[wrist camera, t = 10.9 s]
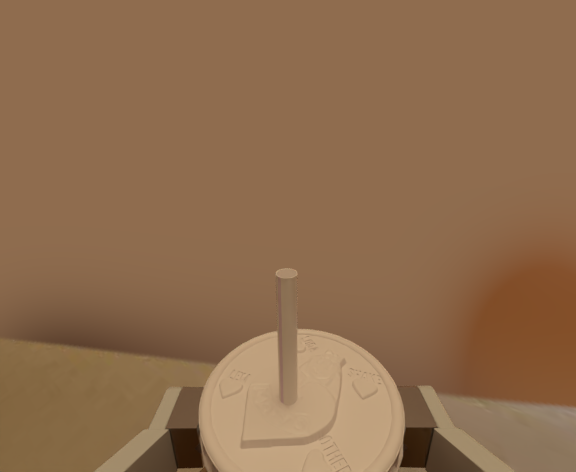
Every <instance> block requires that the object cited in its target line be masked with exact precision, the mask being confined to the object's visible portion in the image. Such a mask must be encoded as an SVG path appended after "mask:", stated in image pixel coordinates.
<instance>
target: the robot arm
mask: <svg viewBox="0 0 576 472" xmlns="http://www.w3.org/2000/svg"><path fill="white" fill-rule="evenodd" d="M203 389H204V387H169V388H168V389H167V391H166V392H165V394H164V397H163V399H162V401H161V403H160V405H159V407H158V409H157V411H156V414H155V416H154V418H153V420H152V422H151V424H150V426H149V428H148V429H144V430H143V431H141V432H140V433H139V434H138V435H137V436H136V437H134V438H133V439H132V440H131V441H130V442H128V443H127V444H126V445H125V446H124V447H123V448H121V449H120V450H119V451H118V452H117V453H116V454H114V455H113V456H112V457H111V458H110V459H109V460H107V461H106V462H105V463H104V464H103V465H101V466H100V467H99V468H98V469H97V470H96V471H94V472H176V471H177V469H179V468H203V466H204V461H203V456H202V450H201V445H200V439H199V438H200V428H199V405H200V400H201V395H202V392H203ZM397 389H398V391H399V394H400V396H401V400H402V403H403V408H404V416H405V427H404V436H403V459H402V462H401V465H400V467H412V468H426V469H425V470H426V471H427V472H515V471H514V470H513V469H511V468H510V467H509V466H507V465H506V464H505V463H504V462H502V461H501V460H500V459H499V458H497V457H496V456H495V455H493V454H492V453H491V452H490V451H488V450H487V449H486V448H484V447H483V446H482V445H481V444H479V443H478V442H477V441H476V440H474V439H473V438H472V437H470V436H469V435H468V434H467V433H465V432H464V431H463V430H461V429H460V428H455V426H454V425H453V423H452V421H451V419H450V417H449V416H448V414H447V412H446V410H445V409H444V407H443V405H442V403H441V401H440V400H439V398H438V396H437V394H436V392H435V391H434V389H433V388H432V387H431V386H397Z"/></svg>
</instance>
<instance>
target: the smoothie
mask: <svg viewBox="0 0 576 472" xmlns="http://www.w3.org/2000/svg"><path fill="white" fill-rule="evenodd" d="M276 300H277V331H275V332H270V333H266V334H263V335H261V336H258V337H255V338H253V339H251V340H249V341H247V342H245V343H243V344H241V345H240V346H238V347H237V348H235V349H234V350H233V351H232V352H230V353H229V354H228V355H227V356H226V357H225V358H224V359H222V360H221V362H220V363H219V364H218V365H217V366H216V368H215V369H214V370H213V372H212V373H211V375H210V377H209V378H208V380H207V382H206V384H205V387H204V389H203V392H202V395H201V400H200V405H199V428H200V438H199V439H200V445H201V450H202V456H203V461H204V466H205V468H206V470H207V472H398V470H399V468H400V465H401V462H402V459H403V436H404V427H405V416H404V408H403V403H402V400H401V396H400V394H399V391H398V389H397V386H396V385H395V383H394V381H393V379H392V378H391V376H390V374H389V373H388V372H387V370H386V369H385V368H384V367H383V366H382V365H381V363H380V362H379V361H378V360H377V359H376V358H374V357H373V356H372V355H371V354H370V353H368V352H367V351H366V350H365V349H363V348H361V347H360V346H358V345H357V344H355V343H353V342H351V341H349V340H347V339H344V338H342V337H340V336H338V335H334V334H331V333H327V332H324V331H317V330H311V329H297V272H296V271H295V270H293V269H280V270H278V271H277V272H276Z"/></svg>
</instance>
